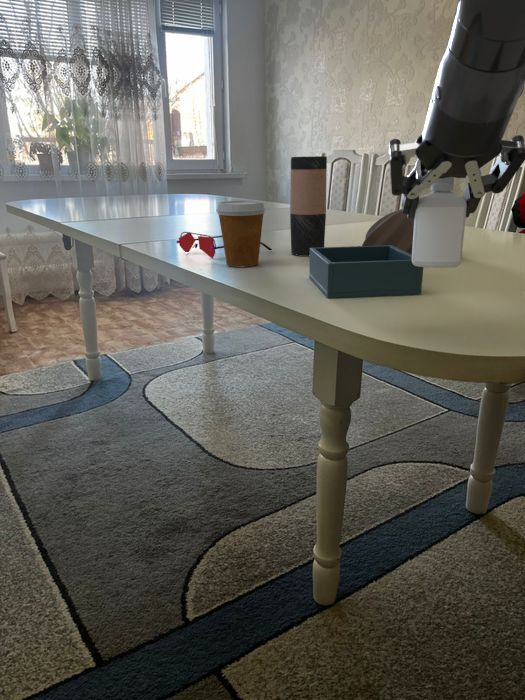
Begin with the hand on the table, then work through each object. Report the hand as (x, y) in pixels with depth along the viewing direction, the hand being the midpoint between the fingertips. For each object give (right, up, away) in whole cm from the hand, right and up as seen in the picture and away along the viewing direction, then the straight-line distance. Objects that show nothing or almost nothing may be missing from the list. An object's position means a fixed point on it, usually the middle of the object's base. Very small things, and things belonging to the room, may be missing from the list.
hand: (436, 212), depth 64 cm
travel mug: (-11, +5, +54) cm, 56 cm away
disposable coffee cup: (-25, 0, +43) cm, 50 cm away
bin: (-4, -6, +25) cm, 26 cm away
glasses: (-29, +5, +57) cm, 65 cm away
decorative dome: (+10, +3, +50) cm, 51 cm away
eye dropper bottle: (0, -6, 0) cm, 7 cm away
